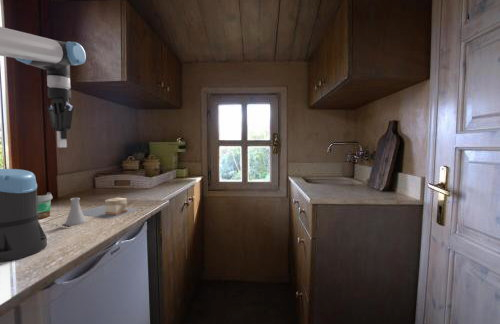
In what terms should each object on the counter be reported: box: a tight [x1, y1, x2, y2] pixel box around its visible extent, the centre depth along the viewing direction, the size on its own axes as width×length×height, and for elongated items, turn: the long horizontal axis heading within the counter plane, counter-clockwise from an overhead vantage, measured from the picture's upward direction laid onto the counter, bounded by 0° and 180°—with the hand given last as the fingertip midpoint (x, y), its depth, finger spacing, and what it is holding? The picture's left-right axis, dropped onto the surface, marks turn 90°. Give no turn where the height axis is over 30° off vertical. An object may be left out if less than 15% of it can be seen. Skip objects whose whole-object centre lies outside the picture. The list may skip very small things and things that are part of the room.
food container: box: [37, 191, 54, 221], centre depth 103 cm, size 12×6×10 cm, turn 168°
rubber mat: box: [82, 204, 139, 220], centre depth 114 cm, size 16×22×1 cm
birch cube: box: [104, 197, 128, 215], centre depth 112 cm, size 6×6×6 cm
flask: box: [65, 197, 87, 227], centre depth 98 cm, size 7×7×10 cm
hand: (62, 147), depth 104 cm, fingers closed
